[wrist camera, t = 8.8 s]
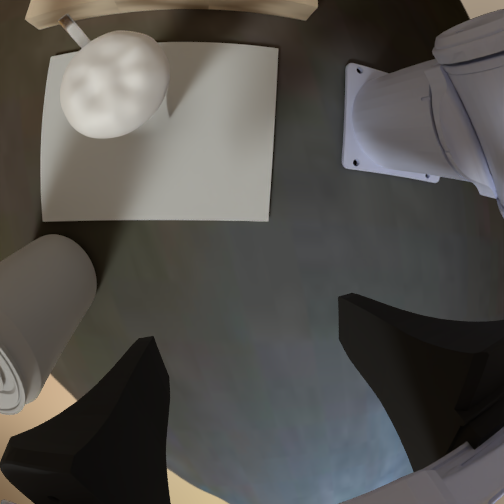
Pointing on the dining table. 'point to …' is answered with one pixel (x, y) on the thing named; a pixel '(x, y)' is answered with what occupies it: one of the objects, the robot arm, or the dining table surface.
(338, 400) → the dining table surface
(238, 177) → the grey mat
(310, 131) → the dining table surface
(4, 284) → the beverage can
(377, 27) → the dining table surface
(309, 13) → the pocket holder
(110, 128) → the milkshake
